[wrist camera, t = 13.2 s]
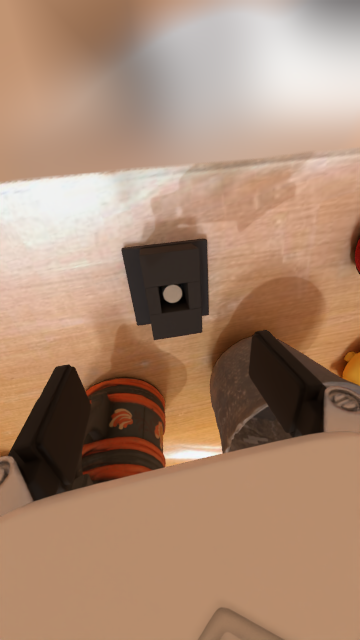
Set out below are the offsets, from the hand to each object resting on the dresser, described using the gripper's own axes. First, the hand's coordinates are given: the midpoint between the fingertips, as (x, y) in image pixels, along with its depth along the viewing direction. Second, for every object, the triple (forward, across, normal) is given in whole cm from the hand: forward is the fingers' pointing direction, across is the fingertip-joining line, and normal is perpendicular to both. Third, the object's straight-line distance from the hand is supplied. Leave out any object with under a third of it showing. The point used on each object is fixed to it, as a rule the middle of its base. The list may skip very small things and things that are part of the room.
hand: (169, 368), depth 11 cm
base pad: (+18, -2, +1) cm, 18 cm away
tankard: (+18, +9, +20) cm, 29 cm away
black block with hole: (+17, -2, +2) cm, 17 cm away
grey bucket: (+18, -13, +16) cm, 27 cm away
